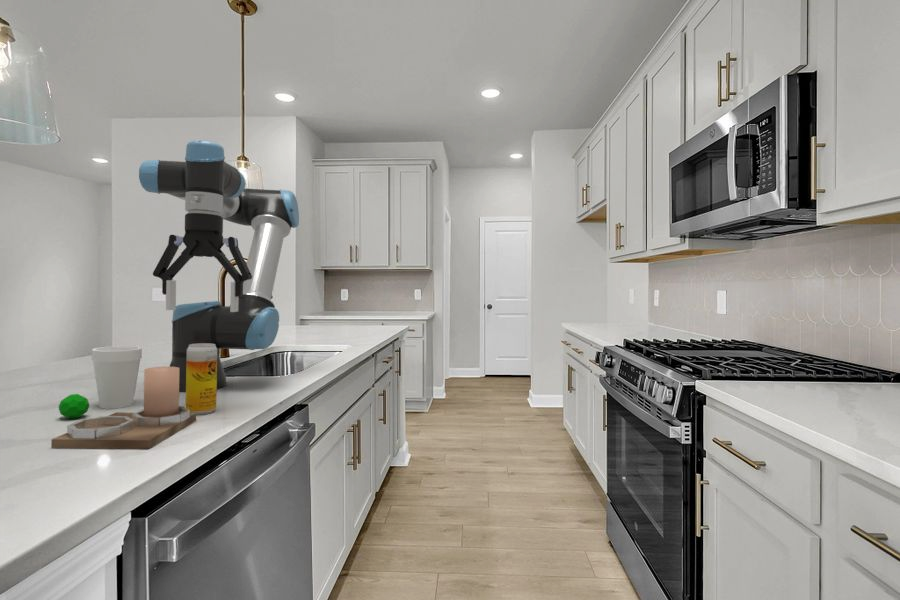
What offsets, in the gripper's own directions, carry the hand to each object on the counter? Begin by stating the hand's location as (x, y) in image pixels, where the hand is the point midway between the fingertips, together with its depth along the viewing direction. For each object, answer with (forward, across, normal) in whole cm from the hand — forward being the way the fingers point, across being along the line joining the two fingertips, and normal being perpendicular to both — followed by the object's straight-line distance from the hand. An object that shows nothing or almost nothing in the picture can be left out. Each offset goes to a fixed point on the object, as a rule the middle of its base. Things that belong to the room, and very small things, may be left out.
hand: (202, 311), depth 109 cm
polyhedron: (+23, -23, -6) cm, 33 cm away
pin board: (+22, -6, -16) cm, 28 cm away
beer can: (+23, 0, 0) cm, 23 cm away
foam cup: (+23, -21, +5) cm, 31 cm away
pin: (+21, -3, -12) cm, 24 cm away
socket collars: (+21, -6, -16) cm, 27 cm away
